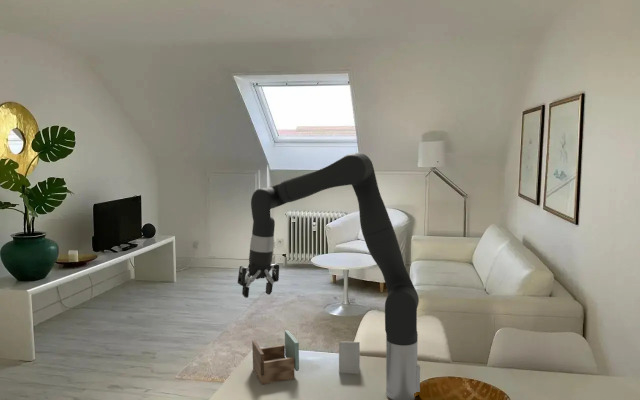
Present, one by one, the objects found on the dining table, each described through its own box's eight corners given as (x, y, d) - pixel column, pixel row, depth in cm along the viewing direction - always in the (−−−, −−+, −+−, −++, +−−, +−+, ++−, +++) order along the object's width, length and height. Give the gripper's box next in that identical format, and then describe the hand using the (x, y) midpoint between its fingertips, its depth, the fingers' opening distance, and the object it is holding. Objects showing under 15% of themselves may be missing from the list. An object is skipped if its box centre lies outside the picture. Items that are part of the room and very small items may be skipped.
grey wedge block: (359, 373, 168) (359, 344, 167) (339, 372, 169) (338, 343, 168) (359, 368, 172) (359, 340, 171) (339, 367, 172) (339, 339, 171)
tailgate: (288, 356, 176) (288, 329, 175) (299, 370, 165) (298, 342, 164) (285, 357, 176) (284, 330, 175) (295, 371, 165) (295, 342, 164)
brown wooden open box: (284, 364, 176) (283, 336, 175) (294, 378, 165) (294, 349, 164) (253, 369, 172) (252, 340, 171) (261, 384, 161) (260, 354, 160)
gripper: (248, 252, 158) (243, 302, 161) (286, 249, 167) (281, 296, 169) (236, 246, 164) (232, 294, 166) (273, 243, 173) (269, 289, 175)
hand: (257, 295), depth 168 cm, fingers open, 8 cm apart
